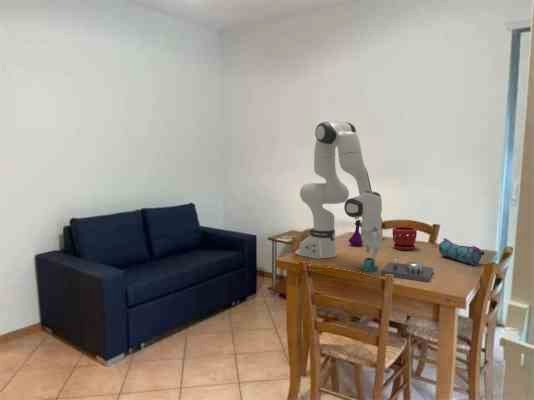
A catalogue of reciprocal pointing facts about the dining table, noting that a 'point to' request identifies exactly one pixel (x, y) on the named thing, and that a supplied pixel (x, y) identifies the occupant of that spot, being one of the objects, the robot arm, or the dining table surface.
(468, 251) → the pencil case
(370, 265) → the planet gear
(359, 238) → the perfume bottle
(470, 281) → the dining table surface
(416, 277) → the carrier plate
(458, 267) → the dining table surface
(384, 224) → the black-topped pedestal
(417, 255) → the dining table surface
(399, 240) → the plant pot
